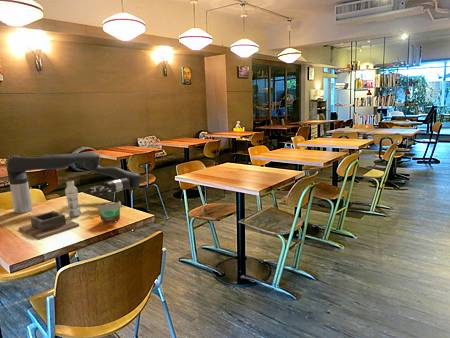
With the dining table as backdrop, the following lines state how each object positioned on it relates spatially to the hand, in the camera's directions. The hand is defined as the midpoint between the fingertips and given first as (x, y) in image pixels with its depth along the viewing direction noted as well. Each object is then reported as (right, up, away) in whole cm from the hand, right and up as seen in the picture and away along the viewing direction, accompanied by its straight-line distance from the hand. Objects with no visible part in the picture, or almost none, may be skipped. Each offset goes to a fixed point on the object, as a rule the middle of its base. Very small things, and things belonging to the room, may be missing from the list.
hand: (88, 192), depth 197 cm
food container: (+19, -14, -16) cm, 29 cm away
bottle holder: (-11, -16, -22) cm, 30 cm away
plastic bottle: (-6, -13, -5) cm, 15 cm away
